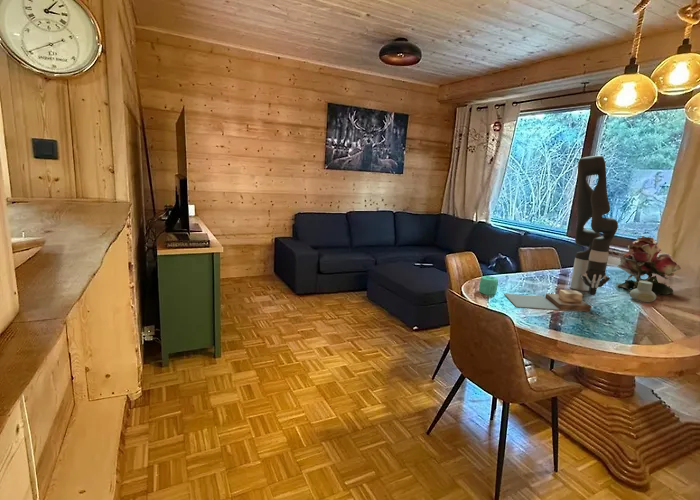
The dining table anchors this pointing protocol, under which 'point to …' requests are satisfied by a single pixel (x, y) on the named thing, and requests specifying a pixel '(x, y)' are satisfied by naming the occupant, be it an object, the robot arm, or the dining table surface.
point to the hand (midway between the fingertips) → (591, 294)
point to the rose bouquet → (647, 265)
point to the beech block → (570, 295)
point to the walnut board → (567, 303)
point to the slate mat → (531, 302)
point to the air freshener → (643, 292)
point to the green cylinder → (488, 285)
